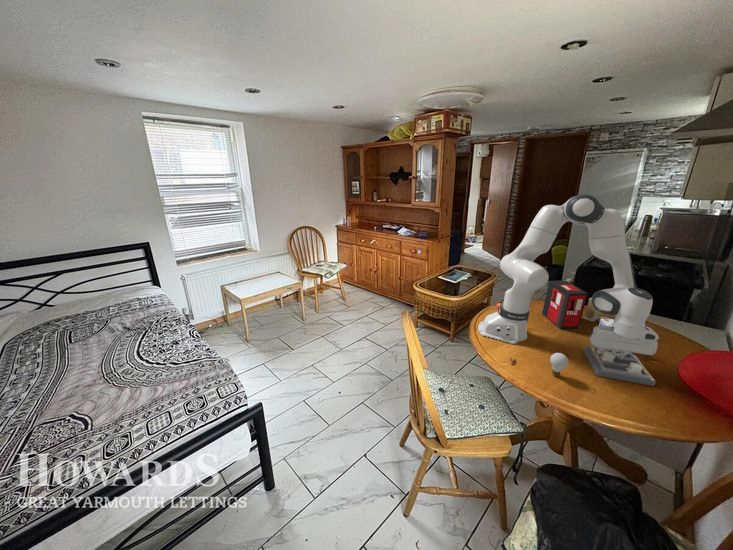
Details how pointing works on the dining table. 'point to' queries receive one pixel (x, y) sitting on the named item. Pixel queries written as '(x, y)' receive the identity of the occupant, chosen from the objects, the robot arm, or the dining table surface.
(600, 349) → the tab rear
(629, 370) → the tab front
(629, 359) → the switch bank
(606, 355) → the tab middle
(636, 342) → the robot arm
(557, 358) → the light bulb
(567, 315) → the cleaning product box
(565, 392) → the dining table surface
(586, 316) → the skincare box
